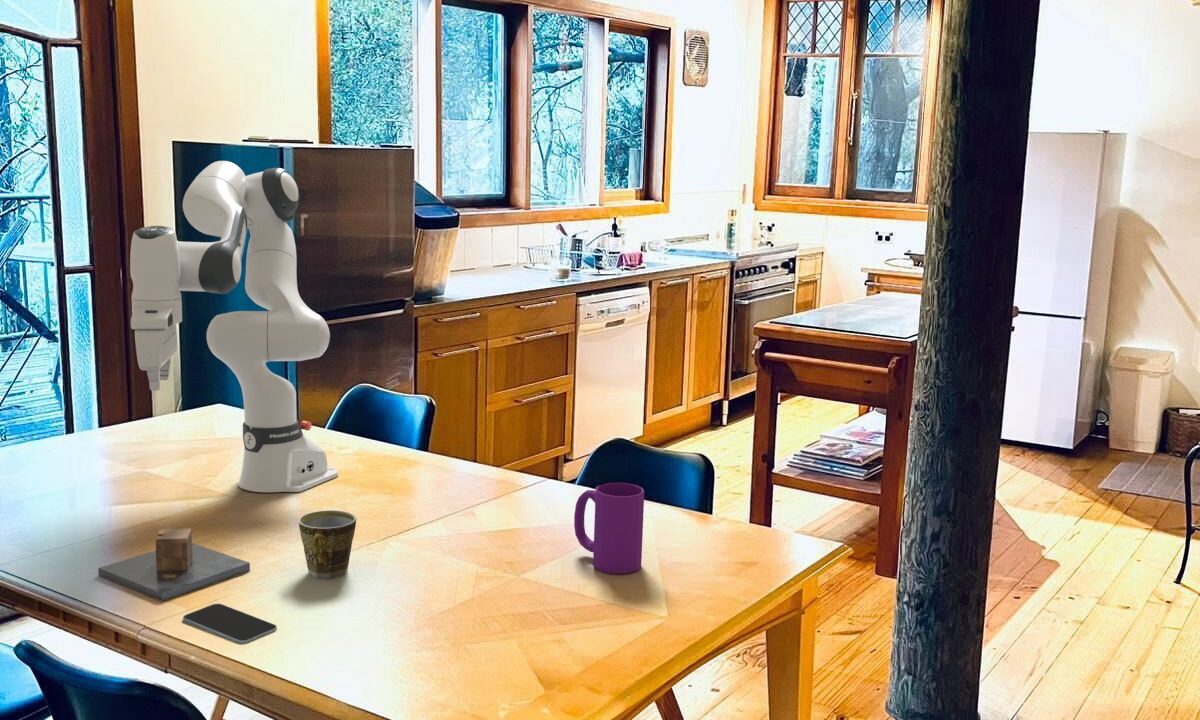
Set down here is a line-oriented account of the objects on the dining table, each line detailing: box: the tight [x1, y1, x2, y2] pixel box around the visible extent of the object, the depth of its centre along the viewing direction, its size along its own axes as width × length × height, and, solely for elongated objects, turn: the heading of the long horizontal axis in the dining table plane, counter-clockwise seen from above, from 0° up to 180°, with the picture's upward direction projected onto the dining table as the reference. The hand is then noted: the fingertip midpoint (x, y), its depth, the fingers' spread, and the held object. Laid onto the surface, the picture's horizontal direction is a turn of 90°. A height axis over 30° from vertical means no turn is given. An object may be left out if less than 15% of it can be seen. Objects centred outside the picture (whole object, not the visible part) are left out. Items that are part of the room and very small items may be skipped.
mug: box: [573, 482, 645, 575], centre depth 214 cm, size 9×16×15 cm, turn 47°
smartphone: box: [182, 603, 278, 645], centre depth 183 cm, size 7×1×15 cm
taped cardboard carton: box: [154, 528, 193, 571], centre depth 202 cm, size 5×5×6 cm
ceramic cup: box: [298, 509, 357, 580], centre depth 204 cm, size 13×10×10 cm
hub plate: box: [98, 542, 251, 602], centre depth 202 cm, size 18×18×6 cm
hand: (160, 384), depth 220 cm, fingers open, 8 cm apart
